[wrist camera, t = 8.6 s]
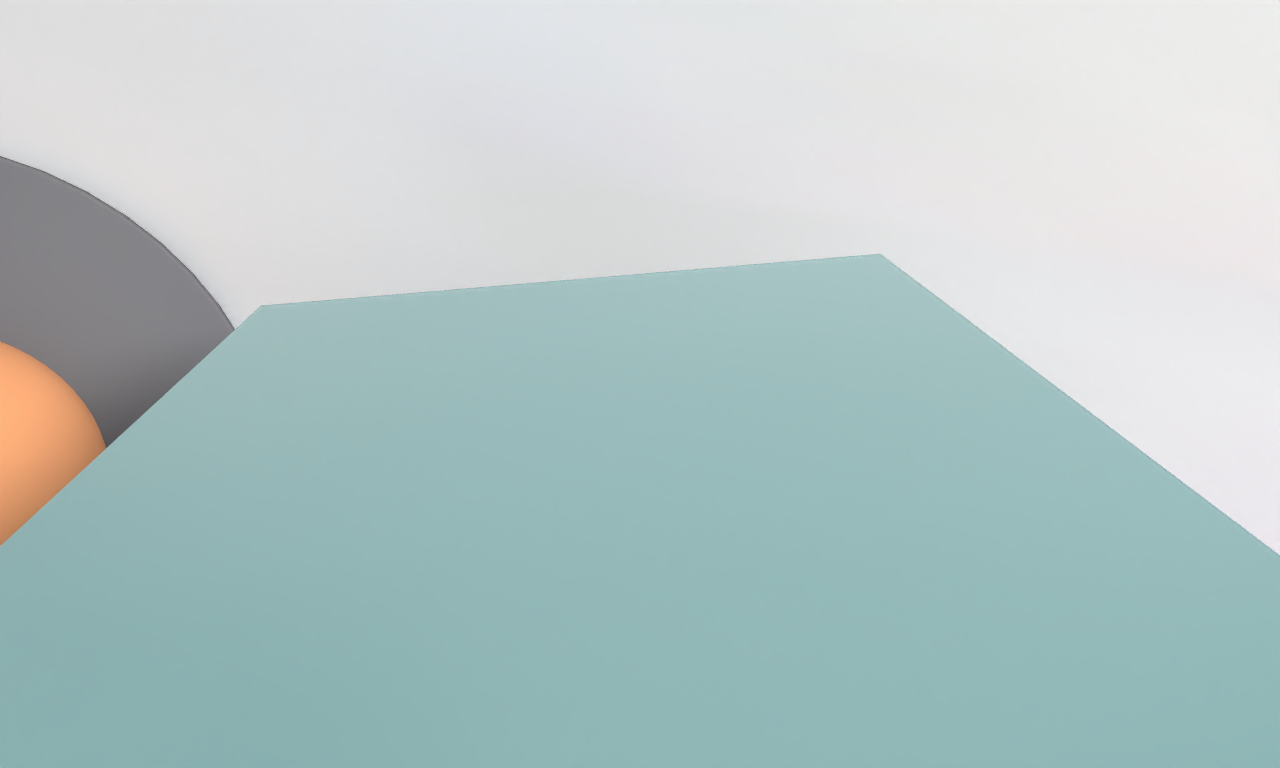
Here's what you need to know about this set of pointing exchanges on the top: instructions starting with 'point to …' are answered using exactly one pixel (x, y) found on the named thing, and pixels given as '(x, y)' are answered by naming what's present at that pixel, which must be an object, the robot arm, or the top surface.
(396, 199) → the top surface
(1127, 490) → the teal cuboid box
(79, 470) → the ball
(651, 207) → the top surface
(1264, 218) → the top surface
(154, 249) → the dark gray round disc
